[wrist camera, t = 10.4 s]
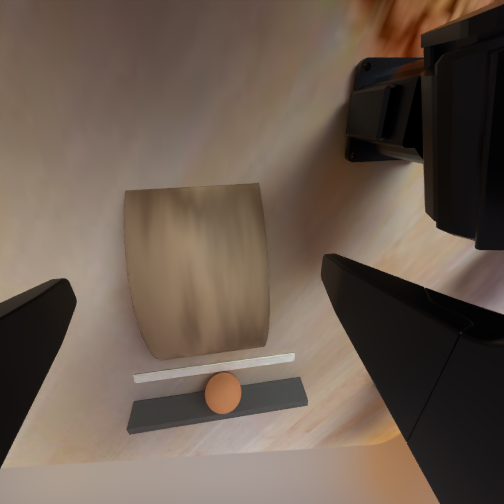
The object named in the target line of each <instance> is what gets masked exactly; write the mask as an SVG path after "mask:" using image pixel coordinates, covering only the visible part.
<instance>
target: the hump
mask: <svg viewBox="0 0 504 504" xmlns="http://www.w3.org/2000/svg"><path fill="white" fill-rule="evenodd" d="M124 239H125V254H126V264H127V273H128V280H129V286H130V292H131V297H132V302H133V307H134V311H135V315H136V318H137V322H138V325H139V328H140V331H141V334H142V337H143V339H144V341H145V343H146V345H147V347H148V349H149V351H150V352H151V354H152V355H153V356H154V357H155V358H156V359H159V360H166V359H174V358H182V357H189V356H197V355H204V354H212V353H220V352H227V351H235V350H242V349H250V348H257V347H264V346H265V345H266V342H267V337H268V329H269V272H268V256H267V243H266V233H265V223H264V215H263V207H262V200H261V194H260V187H259V183H255V184H237V185H219V186H201V187H184V188H166V189H148V190H130V191H125V204H124Z"/></svg>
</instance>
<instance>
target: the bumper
mask: <svg viewBox="0 0 504 504" xmlns="http://www.w3.org/2000/svg"><path fill="white" fill-rule="evenodd" d="M307 405H308V399H307V396H306V393H305V390H304V387H303V384H302V381H301V378H300V377H298V378H291V379H284V380H277V381H271V382H264V383H257V384H251V385H244V386H241V399H240V402H239V404H238V405H237V407H236V408H235V409H234V410H233V411H231V412H229V413H226V414H218V413H216V412H214V411H212V410H211V409H210V408H209V406H208V405H207V403H206V399H205V391H203V392H197V393H190V394H183V395H176V396H170V397H163V398H156V399H149V400H143V401H136V402H134V404H133V408H132V411H131V415H130V419H129V422H128V426H127V431H128V433H129V434H135V433H141V432H148V431H154V430H160V429H166V428H172V427H178V426H185V425H191V424H197V423H203V422H209V421H215V420H221V419H228V418H234V417H240V416H246V415H252V414H258V413H265V412H271V411H277V410H283V409H289V408H295V407H302V406H307Z"/></svg>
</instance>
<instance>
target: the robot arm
mask: <svg viewBox="0 0 504 504" xmlns="http://www.w3.org/2000/svg"><path fill="white" fill-rule="evenodd" d="M423 47H424V58H365V59H363V60H362V61H360V63H359V64H358V67H357V74H356V81H355V88H354V92H353V94H352V95H351V100H350V108H349V115H348V122H347V130H346V134H347V135H348V138H347V145H346V152H345V158H346V160H347V161H350V162H366V161H387V160H408V161H412V162H417V163H421V164H423V167H424V198H425V212H426V213H427V214H428V215H429V216H430V217H431V218H432V219H433V220H434V221H436V227H437V228H438V229H440V230H442V231H445V232H447V233H449V234H452V235H454V236H458V237H462V238H466V239H470V240H474V241H475V248H476V249H478V250H504V0H498V1H496V2H494V3H492V4H489V5H487V6H485V7H483V8H480V9H478V10H476V11H474V12H471V13H469V14H467V15H464V16H462V17H460V18H458V19H455V20H453V21H451V22H449V23H446V24H444V25H442V26H440V27H437V28H435V29H433V30H430V31H428V32H426V33H424V34H421V48H423ZM365 64H367V65H368V69H367V71H365V70H364V65H365ZM352 152H354V156H353V157H352V158H351V153H352ZM321 279H322V281H323V284H324V286H325V289H326V291H327V294H328V296H329V299H330V301H331V304H332V306H333V308H334V311H335V313H336V315H337V317H338V318H339V320H340V322H341V324H342V326H343V328H344V329H345V331H346V333H347V335H348V337H349V339H350V340H351V342H352V344H353V346H354V348H355V349H356V351H357V353H358V355H359V357H360V359H361V360H362V362H363V364H364V366H365V368H366V370H367V371H368V373H369V375H370V377H371V379H372V380H373V382H374V384H375V386H376V388H377V390H378V391H379V393H380V395H381V397H382V399H383V401H384V402H385V404H386V406H387V408H388V410H389V411H390V413H391V415H392V417H393V419H394V421H395V422H396V424H397V426H398V428H399V430H400V431H401V433H402V435H403V437H404V439H405V440H406V442H407V445H408V446H409V448H410V450H411V452H412V454H413V456H414V457H415V459H416V461H417V463H418V464H419V467H420V468H421V470H422V472H423V474H424V476H425V477H426V479H427V481H428V483H429V485H430V487H431V488H432V490H433V492H434V494H435V495H436V497H437V499H438V501H439V503H440V504H504V315H503V314H500V313H497V312H494V311H491V310H488V309H485V308H482V307H479V306H476V305H473V304H470V303H467V302H464V301H461V300H458V299H455V298H453V297H450V296H447V295H444V294H441V293H439V292H436V291H433V290H431V289H428V288H425V289H424V287H423V286H420V285H417V284H415V283H412V282H409V281H407V280H404V279H401V278H399V277H396V276H393V275H391V274H388V273H385V272H383V271H380V270H378V269H375V268H372V267H370V266H367V265H364V264H362V263H359V262H356V261H354V260H351V259H348V258H346V257H343V256H340V255H338V254H334V253H333V254H325V255H324V256H323V260H322V268H321ZM76 303H77V300H76V296H75V294H74V291H73V289H72V287H71V285H70V282H69V281H68V280H67V279H65V278H60V279H52V280H49V281H47V282H45V283H43V284H41V285H38V286H36V287H34V288H32V289H30V290H27V291H25V292H23V293H21V294H19V295H17V296H14V297H12V298H10V299H8V300H6V301H3V302H1V303H0V468H1V466H2V464H3V462H4V460H5V458H6V456H7V454H8V452H9V450H10V448H11V446H12V444H13V442H14V440H15V438H16V436H17V434H18V432H19V430H20V428H21V426H22V424H23V422H24V420H25V418H26V416H27V414H28V412H29V410H30V408H31V406H32V404H33V402H34V400H35V398H36V396H37V394H38V392H39V390H40V388H41V386H42V384H43V382H44V380H45V377H46V375H47V373H48V371H49V369H50V367H51V365H52V363H53V361H54V359H55V357H56V355H57V353H58V351H59V349H60V347H61V345H62V342H63V340H64V337H65V335H66V332H67V329H68V326H69V324H70V321H71V318H72V315H73V313H74V310H75V307H76Z"/></svg>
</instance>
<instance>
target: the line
mask: <svg viewBox="0 0 504 504" xmlns="http://www.w3.org/2000/svg"><path fill="white" fill-rule="evenodd" d="M294 359H295V353H288V354H281V355H274V356H266V357H259V358H252V359H244V360H237V361H230V362H222V363H215V364H208V365H200V366H193V367H186V368H178V369H171V370H164V371H156V372H149V373H142V374H134V375H133V378H134V380H135V383H142V382H149V381H156V380H163V379H171V378H178V377H185V376H192V375H199V374H206V373H213V372H220V371H227V370H235V369H242V368H249V367H256V366H263V365H270V364H277V363H284V362H292V361H294Z"/></svg>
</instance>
